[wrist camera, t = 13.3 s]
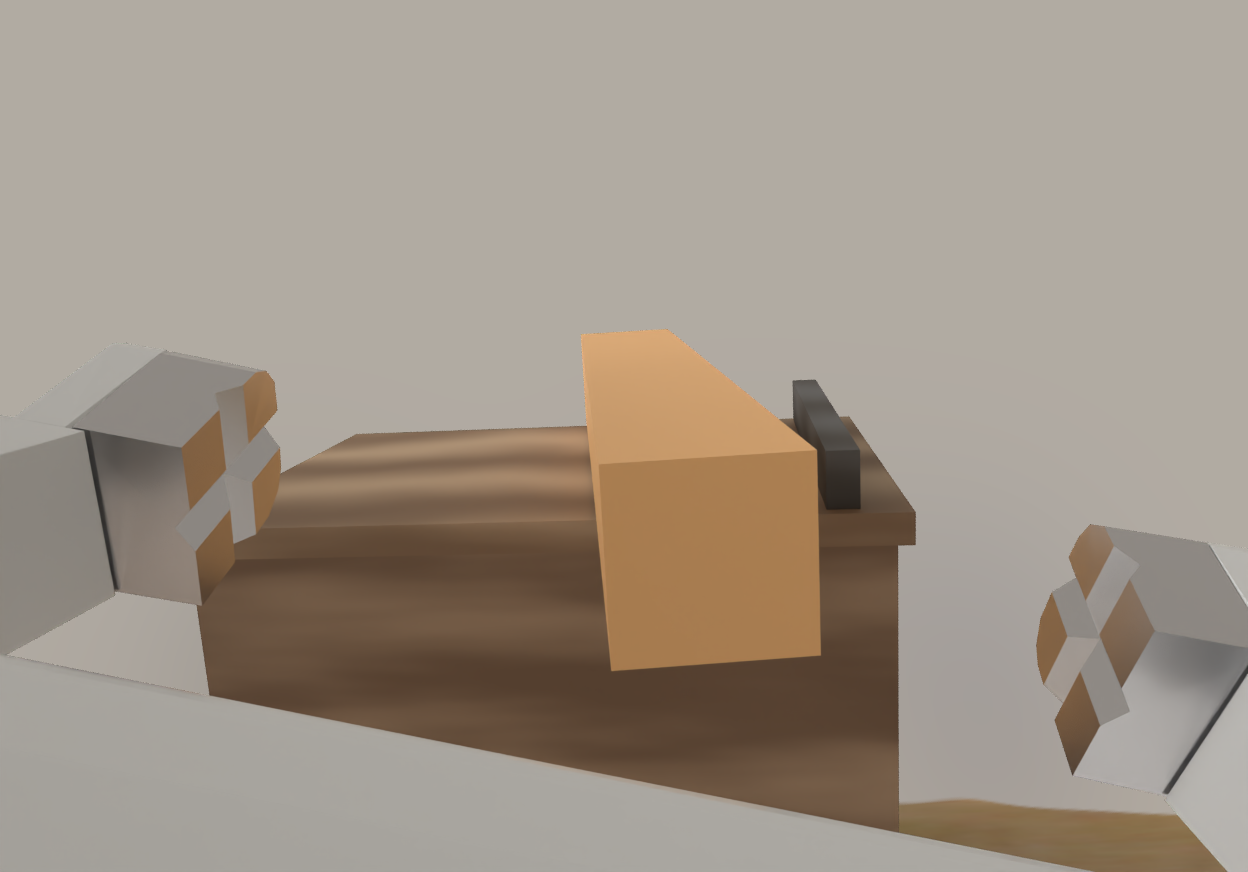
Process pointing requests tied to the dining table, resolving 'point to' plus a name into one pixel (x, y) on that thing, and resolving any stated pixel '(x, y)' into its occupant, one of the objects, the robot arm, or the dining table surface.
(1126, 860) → the dining table surface
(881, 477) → the walnut stand
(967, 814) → the dining table surface
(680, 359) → the orange block
